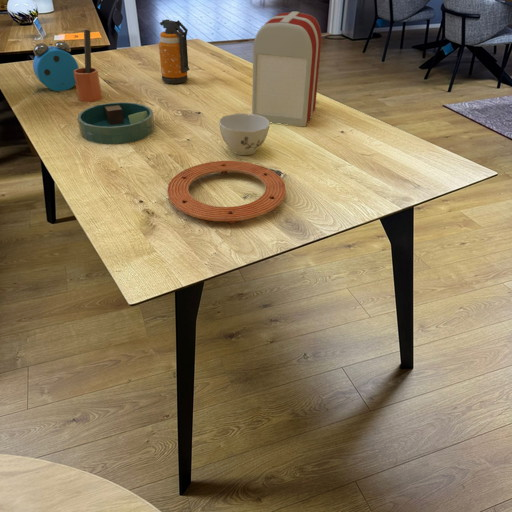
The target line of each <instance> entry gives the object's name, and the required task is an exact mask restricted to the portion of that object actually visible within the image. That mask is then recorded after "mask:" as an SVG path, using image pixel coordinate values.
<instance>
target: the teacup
mask: <svg viewBox="0 0 512 512" xmlns="http://www.w3.org/2000/svg"><path fill="white" fill-rule="evenodd" d="M270 124H271V123H270V122H269V120H267V119H266V118H265V117H263V116H260V115H255V114H252V113H251V114H248V113H243V112H242V113H241V112H240V113H237V112H236V113H233V114H228V115H224V116H222V117H220V118H219V120H218V127H219V131H220V135H221V138H222V140H223V142H224V143H225V145H226V146H227V147H228V148H229V149H230V151H232V152H233V153H234V154H235V155H238V156H249V155H254V154H256V151H258V150H259V149H260V148H261V147H262V146H263V144H264V143H265V140H266V138H267V137H268V134H269V129H270Z"/></svg>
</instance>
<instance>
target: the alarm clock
mask: <svg viewBox="0 0 512 512" xmlns="http://www.w3.org/2000/svg"><path fill="white" fill-rule="evenodd" d="M71 51H72V49H71V46H70V45H69V44H68V43H67V42H66V41H65V40H64V41H63V40H58V41H56V42H55V43H54V44H53V43H48V44H47V43H44V42H38V43H35V46H34V47H33V54H34V59H33V60H32V61H33V62H32V68H33V74H34V75H35V77H36V78H37V80H38V81H39V82H40V83H41V84H42V85H44V86H45V87H46V88H47V89H48V90H51V91H54V92H64V91H69V90H71V89H73V88H74V86H76V83H75V78H74V73H73V71H74V70H75V69H79V68H80V66H79V64H78V62H77V60H76V58H75V57H74V56H73V55H72V54H70V52H71Z"/></svg>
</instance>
